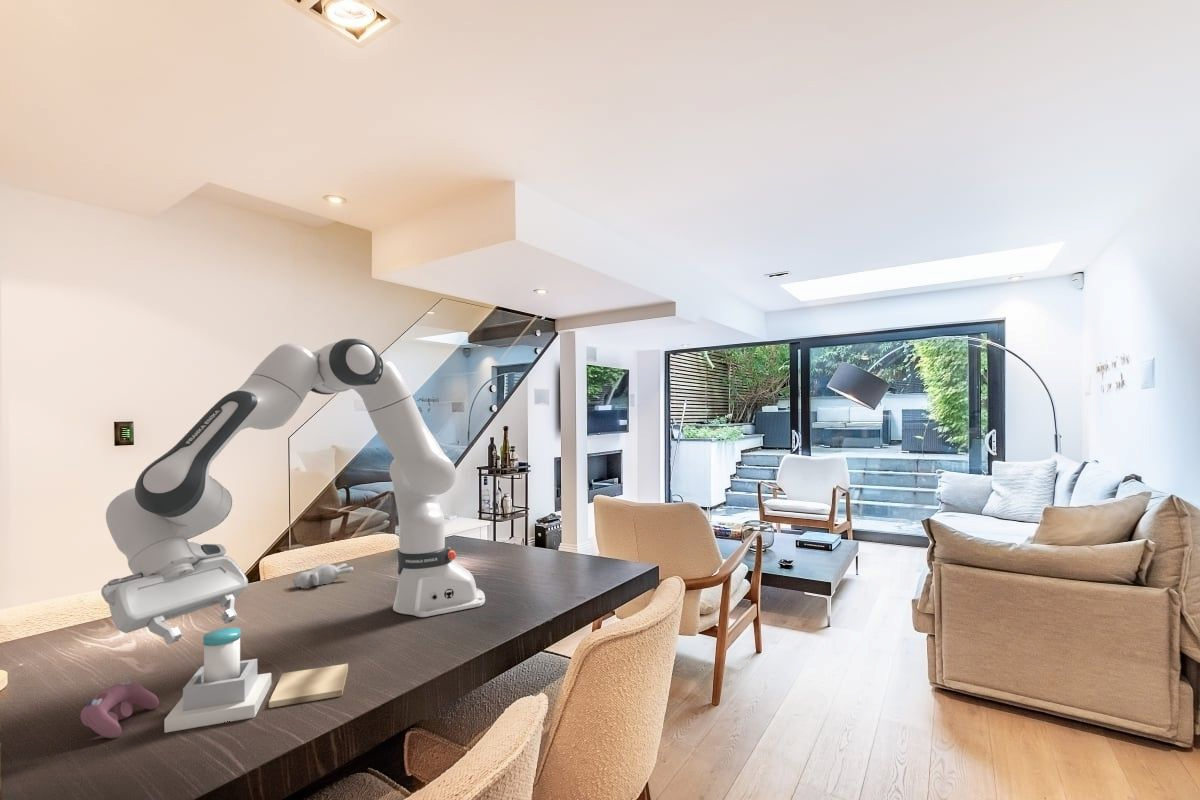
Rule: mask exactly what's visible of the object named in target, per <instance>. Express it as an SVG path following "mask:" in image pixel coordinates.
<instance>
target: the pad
mask: <svg viewBox="0 0 1200 800" xmlns="http://www.w3.org/2000/svg"><path fill="white" fill-rule="evenodd" d="M348 671H349V663H342V664H337V665H330V666H322V667H316V668H309V669H303V670H295V671H289V672H282V673H281V676H280V678H279V680H278V682H277V684H276V687H275V689H274V690H273V692H272V694H271V697H270V698H269V701H268V709H271V708H277V707H283V706H284V707H285V706H289V705H295V704H301V703H307V702H313V701H318V700H325V699H330V698H331V699H332V698H336V697H343V693H344V690H345V685H346V680H347V675H348Z"/></svg>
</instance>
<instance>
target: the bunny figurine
mask: <svg viewBox="0 0 1200 800" xmlns="http://www.w3.org/2000/svg"><path fill="white" fill-rule="evenodd" d="M353 572H354V567H353V566H351V567H348V563H346V562H345V563H341V564H338V565H337V566H336V565H333V564H330V563H323V564H320V565H317V566H315V567H314V568H313V569H310V570H307V571H302V572H300V573H299V574H297V576H296V577H295V578H293V579H292V583H293V584H292V585H293V586H294V587H296V588H301V589H303V588H307V587H311V586H312V587H313V586H324V585H323V584H326V585H329V584H333V583H334V582H335V581H336V579H337V577H338V575H340V574H350V573H353ZM332 582H333V583H332ZM312 587H311V588H312Z"/></svg>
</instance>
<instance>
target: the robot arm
mask: <svg viewBox="0 0 1200 800" xmlns="http://www.w3.org/2000/svg"><path fill="white" fill-rule="evenodd" d="M351 389H352V390H354V391H355V392H356V393H357V394H358V395H359V396H360V398H361V399H362V402H363V404H364V406H365V409H366V411H367V413H368V416H369V417H370V419H371V422H372V423H373V426H374V428H375V430H376V432H377V434H378V437H379V439H380V441H381V442H382V444H383V445H385V447H386V448H387V450H388V451H389V452H390V454H391V456H392V457H393V460H392V461H391V462H390V466H389V477H390V479H391V482H392V488H393V493H394V499H395V505H396V510H397V516H398V537H399V538H398V545H399V546H398V548H399V549H398V550H397V556H396V571H397V574H398V579H397V588H396V593H395V599H394V603H393V606H392V610H393V611H394V612H396V613H397V614H398V613H399V614H402V615H411V616H415V617H419V618H427V617H431V616H436V615H442V614H447V613H453V612H457V611H462V610H467V609H473V608H479V607H482V606H483V605H484V604H485V602H486V595H485V593H484V591H482V590H481V589H480V588H477V585H476V581H475V578H474V576H473V574H472V573H471V572H470V571H469V570H468V569H467V568H465V567H463V566H462V565H460V564H459V563H457V562H456V561H454V560H455V559H456V557H457V553H456V551H455V550H453V549H452V548H451V547H450V546H446V541H445V540H446V539H445V537H446V536H445V535H446V534H445V531H446V527H445V519H446V518H445V515H444V512H443V510H442V507H441V504H440V500H439V495H442V494H443V495H444V493H446V492H448V491H449V490H450V489H451V488H452V487H453V486H454V483H455V482H456V479H457V471H456V469H457V468H456V467H455V466H456V465H454V464H455V463H453V461H452V460H451V459H450V458H448V456H447V455H446V454H445V452H444V450H443V448H442V447H441V446H440V445H439V443H438V441H437V439H436V438H435V436H434V435H433V434H432V432H431V431H430V429H429V428H428V426H427V424H426V423H425V421H424V418H423V417H422V414H421V412H420V409H419V408H418V406H417V403H416V400H415V398H414V397H413V395H412V392H411V390H410V387H409V386H408V384H407V381H406V380H405V379H404V377H403V375H402V374H401V372H400V371H399V370H398V367H397V366H396V365H395V364H394V363H393V362H392V361H391V360H388V359H383V358H382V357H381V356H380V355H379V354H378V353H377V351H376V350H375V348H374V347H373V346H372V345H371V344H370V343H368V342H367V341H364V340H362V339H360V338H344V339H341V340H339V341H335V342H333V343H329V344H326V345H324V346H323V347H321V348H320V349H317V350H316V351H313V352H312V351H310V350H309V349H308V348H306V347H304V346H302V345H299V344H295V343H283V344H280V345H278V346H277V347H276V348H274V350H273V351H271V352H270V353H269V354H268V355H267V356H266V357H265V358H264V359H263V360H262V361H261V362H260V363H259V364H258V365H257V367H256V368H255V369H254V370H253V371H252V372H251V374H250V375H249V377H248V378H247V379H246V380H245V382H244V383H243V384H242V385H241V386H240V387H239V388H237V389H236V390H235V391H232V392H229V393H227V394H225V396H223V397H222V398H220V399H219V400H218V401H217V402H216V403H215V404H214V405H213V406H212V407H211V408H210V409H209V410H208V411H207V412H206V413H205V414H204V415H203V416H202V417H201V418H200V419H199V420H198V421H197V422H196V423H195V424H194V425H193V427H192V428H191V429H190V430H188V431H187V433H186V434H184V436H183V437H182V438H181V439H180V440H179V441H178V442H177V443H176V444H175V445H174V446H173V447H172V448H170V450H168V451H166V453H164V454H163V455H162V456H160V457H158V458H157V459H155V460H153V461H152V463H150V464H148V465H147V466H146V468H144V470H142V472H141V473H140V474H139V476H138V478H137V480H136V482H135V486H134V487H133V488H132V487H131V488H130V489H127V490H125V491H122V492H121V493H120V494H118V495H117V496H116V497H115V498H113V499H112V500H111V501H110V502H109V504H108V506H107V508H106V511H105V520H106V525H107V528H108V531H109V533H110V535H111V537H112V540H113V541H114V543H115V545H116V547H117V549H118V550H119V552H121V553H122V554H123V555H124V556H125V557H126V559H127V565H128V568H129V570H130V572H131V573H132V574H130V575H127V576H123V577H121V578H114V579H111V580H109V581H108V582H107V583H106V584H104V585H103V586H102V588H101V592H100V593H101V596H102V598H103V600H104V601H105V602H106V603H107V604H108V609H109V611H110V614H111V617H112V621H113V623H114V626H115V628H116V630H117V631H119V632H122V633H123V634H124V633H125V634H127V633H131V632H135V631H138V630H141V629H144V628H146V627H147V628H148V631H149V632H151V633H152V634H155V635H157V636H159V637H161V638H163V640H164V641H165V643H166V645H171V644H173V643H176V642H178V641H180V639H181V638H182V635H183V634H182V633H181V631H180V629H179V627H178V626H176V627H175V626H174V627H171V626H169V625H167V624H166V623H164V622H166V621H168V620H172V619H176V618H178V617H181V616H184V615H188V614H190V613H191V614H192V613H193V612H197V611H200V610H204V609H207V608H210V607H213V606H215V605H216V606H217V605H219V606H220V607H221V608H224V612H223V613H222V614H221V615H220V619H221V620H222V621H223V623H224V624H228V623H229V624H230V623H232V622H234V621H235V620H236V619H237V618H238V613H237V612H236V609H235V601H236V599H238V598H240V597H241V596H242V594H243V593H244V592H245V590H246V589H247V588H248V585H249V580H248V577H247V576H246V574H245V573H244V571H243V569H242V568H241V567H240V566H239V564H238V562H236V561H235V560H234V559H233V558H232V557H230V556H228V555H226V553H227V549H226V547H225V546H224V545H223V544H220V543H202V542H201V543H200V542H193V541H189V540H190V539H192V538H194V537H197V536H200V535H202V534H203V533H205V532H206V533H207V532H208V531H209V530H211V529H214V528H216V527H218V526H219V525H220V524H221V523H222V522H224V521H225V520H226V519H227V517H228V516H229V514H230V513H231V510H232V507H233V498H232V497H233V496H232V495H231V493H230V491H229V490H228V489H227V488H226V487H224V486H223V485H222V484H221V483H220V482H219V481H217V480H216V479H214V478H213V477H212V476H211V475H210V474H209V472H210V471H209V470H210V466H211V464H212V463H213V461H214V460H215V459H216V458H217V457H218V455H219V454H220V453H221V452H222V451H223V450H224V449H225V448H226V447H227V445H229V443H230V442H231V441H232V440H233V438H234V437H235V436H236V435H238V433H240V432H241V431H242V430H245V429H248V428H253V429H256V430H260V431H261V430H264V431H266V430H275V429H277V428H281V427H283V426H284V425H285V424H286V423H288V422H289V421H290V419H291V418H293V417H294V415H295V414H296V412H297V411H299V410H298V409H299V408H300V407H301V405H302V403H303V402H304V400H305V398H306V397H307V395H308V393H309V392H313V393H316V394H320V395H327V396H328V395H333V394H337V393H343V392H346V391H349V390H351Z"/></svg>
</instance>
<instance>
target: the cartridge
mask: <svg viewBox="0 0 1200 800" xmlns="http://www.w3.org/2000/svg"><path fill="white" fill-rule="evenodd" d="M241 631H242V629H241V628H239V627H224V628H219V629H214V630H212V631H209V632H207V633H205V634H204V635H203V636H202V638H203V639H202V644H203V666H204V683H208V682H215V681H221V680H228V679H235V678H239V677H240V661H241V637H242V633H241Z"/></svg>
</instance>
